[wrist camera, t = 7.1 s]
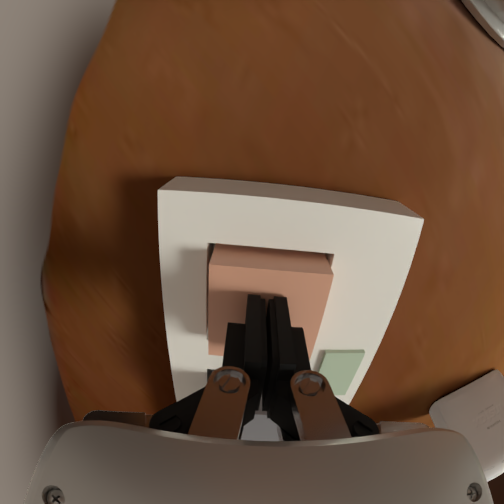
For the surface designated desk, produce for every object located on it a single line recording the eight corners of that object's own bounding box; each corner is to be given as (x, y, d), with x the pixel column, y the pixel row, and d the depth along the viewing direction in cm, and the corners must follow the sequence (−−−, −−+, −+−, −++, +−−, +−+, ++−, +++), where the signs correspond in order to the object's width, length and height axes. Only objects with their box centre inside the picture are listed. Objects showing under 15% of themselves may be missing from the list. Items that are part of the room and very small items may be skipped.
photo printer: (501, 362, 21) (545, 437, 10) (491, 383, 23) (528, 454, 12) (431, 398, 23) (468, 491, 12) (425, 416, 24) (455, 501, 13)
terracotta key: (218, 234, 14) (208, 264, 11) (319, 243, 14) (333, 274, 11) (215, 315, 16) (208, 354, 13) (302, 321, 16) (309, 361, 13)
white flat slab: (176, 176, 14) (155, 191, 11) (397, 201, 14) (427, 221, 11) (193, 438, 25) (188, 464, 22) (305, 444, 25) (308, 469, 22)
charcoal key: (212, 367, 16) (206, 410, 13) (295, 373, 16) (300, 415, 13) (213, 410, 18) (208, 447, 16) (281, 415, 19) (284, 451, 16)
